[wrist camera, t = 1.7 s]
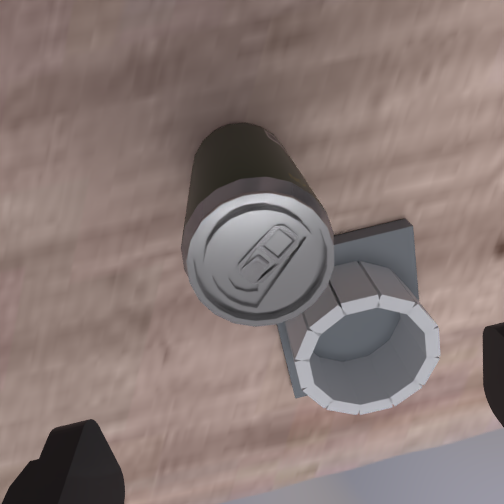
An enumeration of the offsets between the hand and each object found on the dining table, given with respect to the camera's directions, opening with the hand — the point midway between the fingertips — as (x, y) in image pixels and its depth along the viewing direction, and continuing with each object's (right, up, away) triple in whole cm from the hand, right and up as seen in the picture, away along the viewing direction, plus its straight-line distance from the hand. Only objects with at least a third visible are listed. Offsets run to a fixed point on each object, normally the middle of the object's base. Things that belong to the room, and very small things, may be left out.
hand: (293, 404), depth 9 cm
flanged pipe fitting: (+5, -1, +21) cm, 22 cm away
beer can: (-2, +8, +17) cm, 19 cm away
